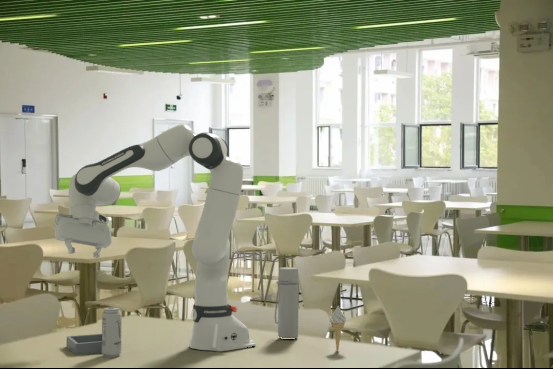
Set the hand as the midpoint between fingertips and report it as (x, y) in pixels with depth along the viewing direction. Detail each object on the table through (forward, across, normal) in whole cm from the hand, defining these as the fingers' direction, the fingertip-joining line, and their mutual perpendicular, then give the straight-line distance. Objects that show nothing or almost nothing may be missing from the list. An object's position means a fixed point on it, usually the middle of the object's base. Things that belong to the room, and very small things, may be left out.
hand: (84, 255), depth 267 cm
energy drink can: (+35, +5, -5) cm, 36 cm away
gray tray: (+30, +6, +7) cm, 31 cm away
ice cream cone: (+41, +65, -47) cm, 90 cm away
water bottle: (+30, +67, -23) cm, 77 cm away
